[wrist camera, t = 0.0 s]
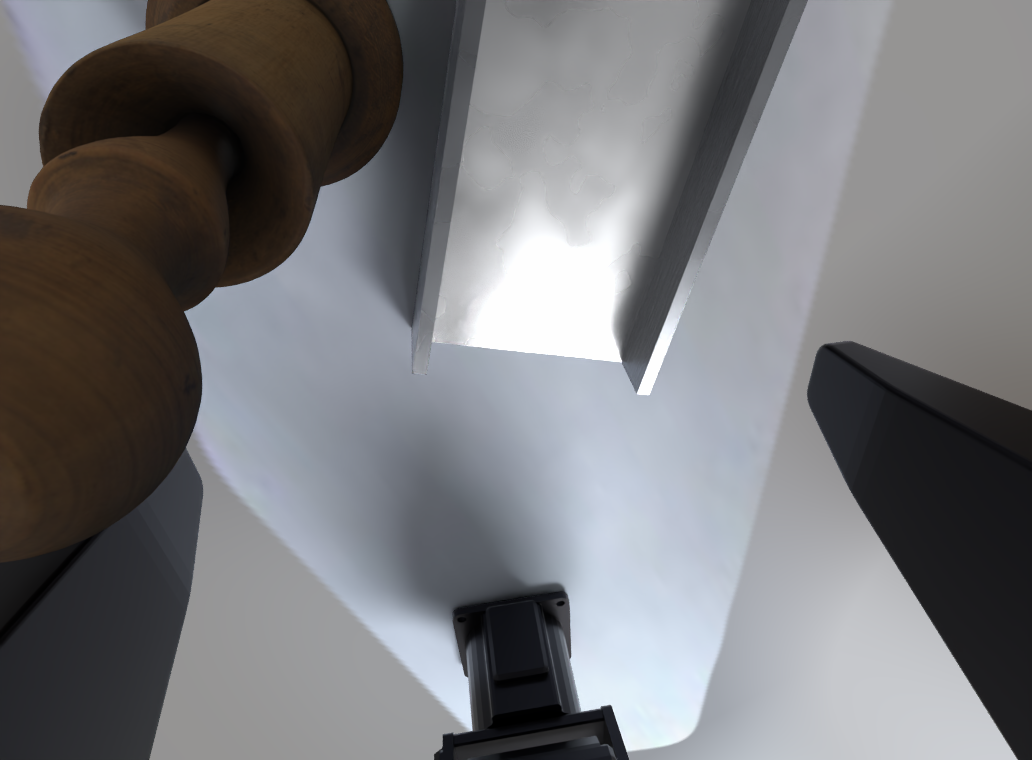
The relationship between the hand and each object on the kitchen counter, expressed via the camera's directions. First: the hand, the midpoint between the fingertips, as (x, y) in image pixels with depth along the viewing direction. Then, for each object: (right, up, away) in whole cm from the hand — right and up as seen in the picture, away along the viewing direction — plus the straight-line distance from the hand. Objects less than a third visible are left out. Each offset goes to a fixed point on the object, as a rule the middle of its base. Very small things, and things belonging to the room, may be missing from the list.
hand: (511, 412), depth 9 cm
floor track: (+2, +10, +11) cm, 15 cm away
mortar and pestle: (-7, +10, +10) cm, 16 cm away
